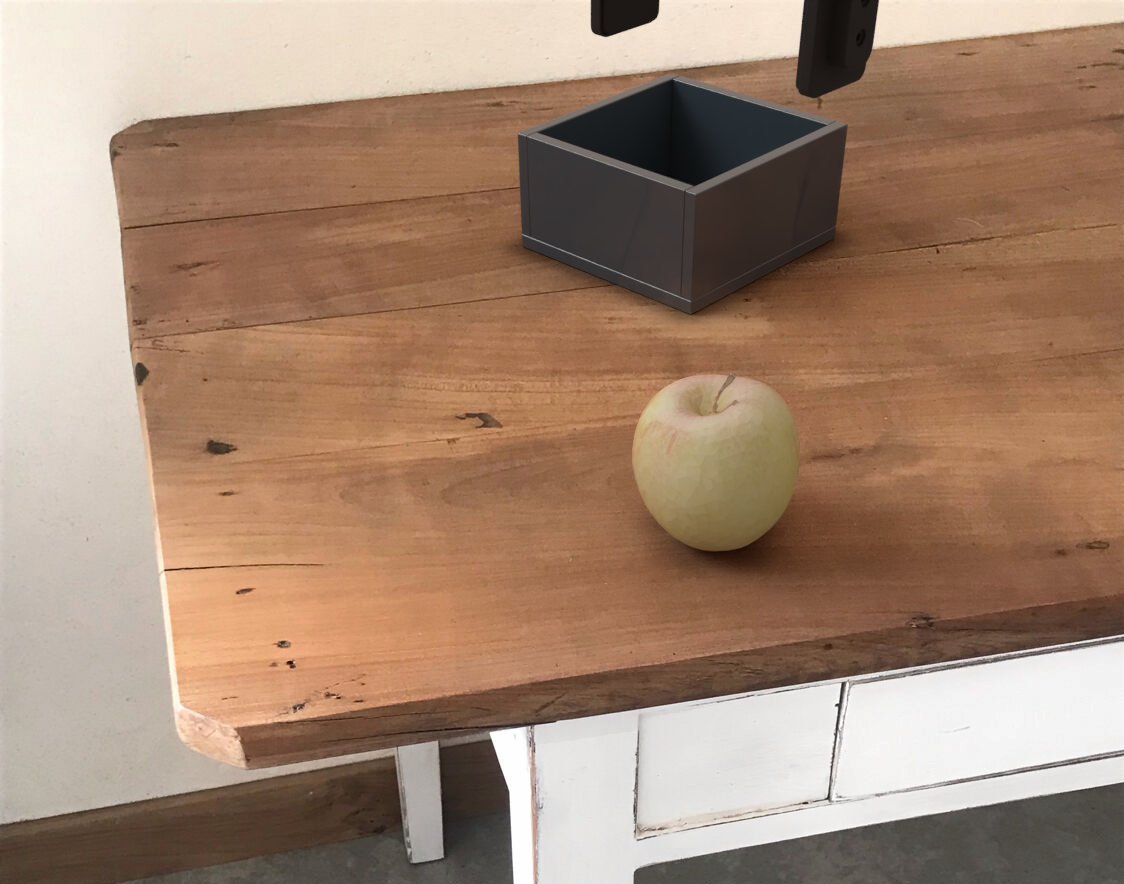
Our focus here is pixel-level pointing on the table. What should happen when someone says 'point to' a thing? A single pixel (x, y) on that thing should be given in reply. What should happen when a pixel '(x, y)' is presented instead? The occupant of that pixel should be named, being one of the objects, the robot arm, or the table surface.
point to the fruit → (716, 459)
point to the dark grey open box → (680, 188)
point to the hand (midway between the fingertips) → (722, 56)
